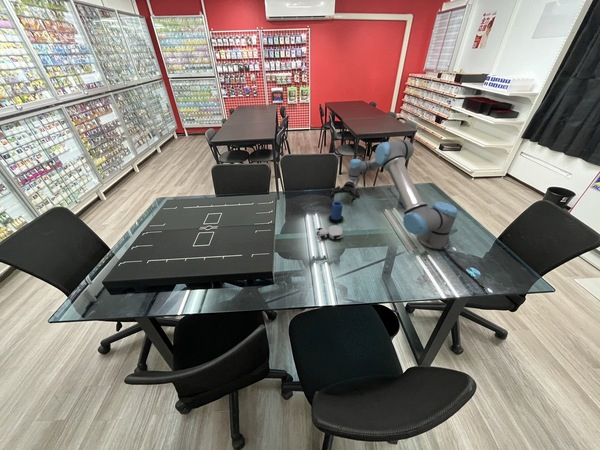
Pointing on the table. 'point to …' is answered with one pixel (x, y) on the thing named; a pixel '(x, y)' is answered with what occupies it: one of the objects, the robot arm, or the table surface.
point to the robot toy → (330, 232)
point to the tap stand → (336, 220)
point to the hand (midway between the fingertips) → (341, 199)
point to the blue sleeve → (336, 210)
